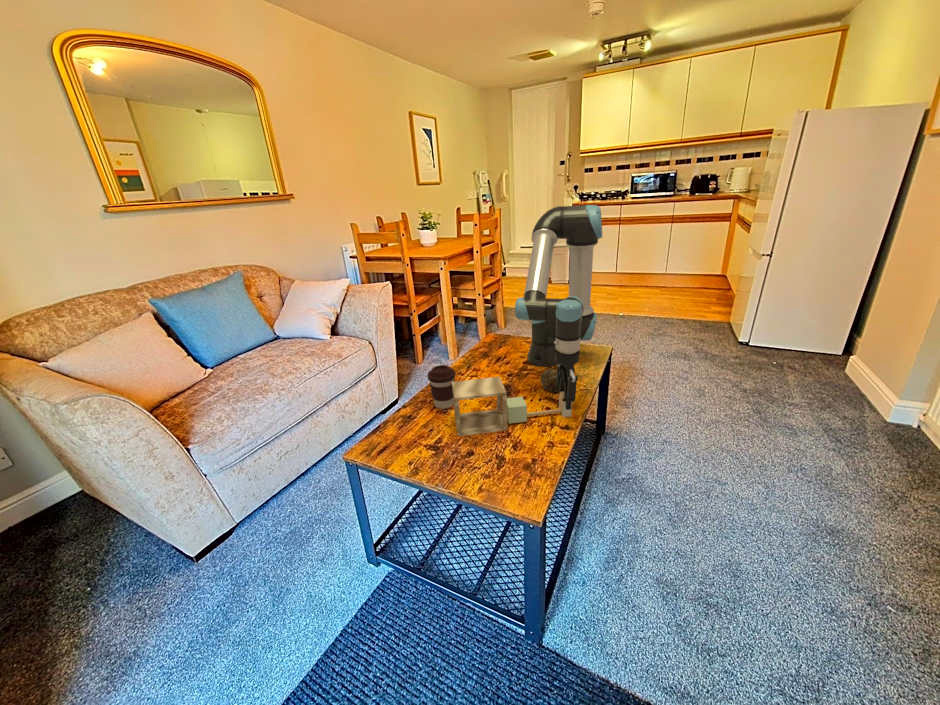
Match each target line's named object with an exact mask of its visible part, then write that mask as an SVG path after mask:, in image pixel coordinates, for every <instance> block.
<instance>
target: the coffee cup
mask: <svg viewBox="0 0 940 705" xmlns="http://www.w3.org/2000/svg"><path fill="white" fill-rule="evenodd" d="M455 378H456V370H454V369H453V368H451V367H450V366H449V365H446V364H442V365H441V364H440V365H436V366H433V367H432V368H431V370H430V371H428V373H427V380H428V381H429V387H430V391H431V398H432V399H433V404H434V407H436V408H438V409H440V410H441V409H443V410H445V409H450V408H452V407H454V401H453V390H452V382H456V381H455Z"/></svg>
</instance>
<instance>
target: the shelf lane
mask: <svg viewBox="0 0 940 705" xmlns="http://www.w3.org/2000/svg"><path fill="white" fill-rule="evenodd" d="M452 390H453V401H454V405H453V413H454V418H455V419H454V420H455V426H456V431H457V437H463V436H472V435H481V434H488V433H495V432H503V431H508V420H507V398H508V397H507V391H506V387H505V386H504V384H503V381H502V379H501V377H500V376H494V377H484V378H475V379H468V380H458V381H455V382H452ZM488 397H489V398H490V397H496V404H497V405H496V407H497V408H495V409H488V410H480V411H473V412H472V411H471V412H465V413H464V412H463V413H461V411H460V402H459V401H463V400H471V399H472V400H473V399H480V398H488Z"/></svg>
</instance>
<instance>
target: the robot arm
mask: <svg viewBox="0 0 940 705" xmlns="http://www.w3.org/2000/svg"><path fill="white" fill-rule="evenodd" d="M601 210H602V208H601V207H600V206H599V205H596V204H595V205H594V204H580V205H566V206H564V205H563V206H562V205H559V206H555V207H552V208H551V209H549V210H547V211H546V212H545V213H543V214H542V216H540V218H539V219H537V222H536V223H535V225H534V227H533V229H532V233H531V242H532V246H531V247H532V249H531V255H530V260H529V265H528V266H529V267H528V272H527V276H526V280H525V281H526V282H525V288H524V292H523V297H517V299H516V301H515V304H514V315H515V318H516V319H517V320H522V321H528V322H529V321H530V322H531V345H530V347H529V351H528V353H527V360H528V362H529V363H530V364H532V365H533V366H538V367H552V366H556V370H557V388H558V389H559V392H558V393H559V399H558V400H559V401H558V409H559V408H560V392H562V391H564V399H562V401H563V416H562V418H568V417H572V406H573V402H576V397H577V396H576V395H577V383H578V379H579V377H578V375H575V372H576V371H575V370H576V369H575V365H577V364H579V361H580V355H581V354H580V349H581V342H582V341H590V340H592V339H593V337H594V333H595V328H596V324H597V319H598V313H596V312H594V311H595V310H594V307H593V306H591V297H592V296H591V295H592V279H593V278H592V276H593V275H592V274H593V261H594V259H593V258H594V248H595V246H597V244H599V240H600V239H602V238H603V221H602V220H603V218H602V211H601ZM558 240H565V244H566V245H567V247H568V248H569V272H568V274H569V276H568V296H567V297H565V298H549V297H548V298H547V294H548V286H549V282H550V274H551V266H552V260H553V253H554V246H555V245H556V244H557V242H558Z"/></svg>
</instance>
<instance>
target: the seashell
mask: <svg viewBox="0 0 940 705" xmlns="http://www.w3.org/2000/svg"><path fill="white" fill-rule="evenodd" d="M540 383H541V386H542V388H543V389H544V390H546V391H547V392H549V393H559V389H558V388H557V369H555V368H549V369H546V370H544V371H543V372H542V373H541V375H540Z"/></svg>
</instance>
